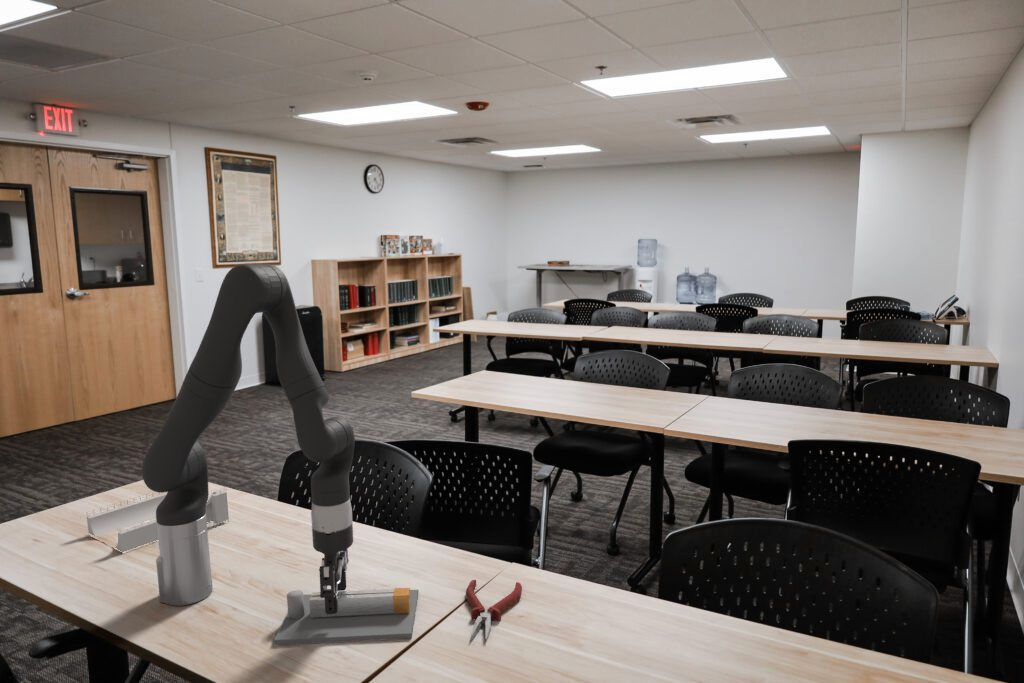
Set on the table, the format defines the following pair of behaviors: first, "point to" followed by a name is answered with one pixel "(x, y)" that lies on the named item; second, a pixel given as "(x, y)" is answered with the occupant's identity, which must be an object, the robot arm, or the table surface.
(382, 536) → the table surface
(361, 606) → the leg
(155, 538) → the skate ramp
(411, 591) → the mat
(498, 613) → the pliers
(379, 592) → the leg
